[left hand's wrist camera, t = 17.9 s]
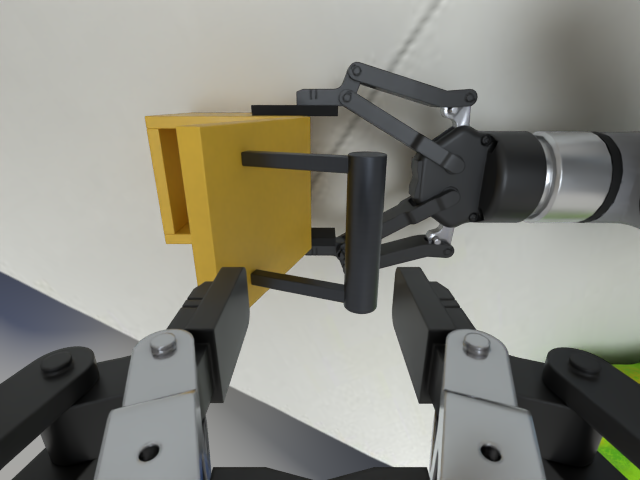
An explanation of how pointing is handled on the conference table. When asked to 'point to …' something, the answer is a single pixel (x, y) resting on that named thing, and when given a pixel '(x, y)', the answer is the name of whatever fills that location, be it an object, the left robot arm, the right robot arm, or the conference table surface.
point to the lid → (277, 207)
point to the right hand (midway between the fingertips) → (258, 177)
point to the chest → (178, 166)
